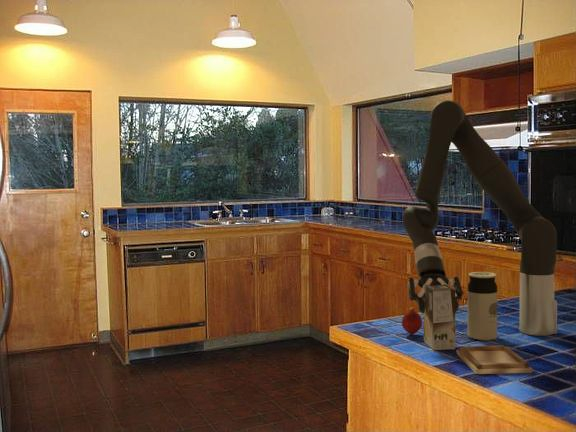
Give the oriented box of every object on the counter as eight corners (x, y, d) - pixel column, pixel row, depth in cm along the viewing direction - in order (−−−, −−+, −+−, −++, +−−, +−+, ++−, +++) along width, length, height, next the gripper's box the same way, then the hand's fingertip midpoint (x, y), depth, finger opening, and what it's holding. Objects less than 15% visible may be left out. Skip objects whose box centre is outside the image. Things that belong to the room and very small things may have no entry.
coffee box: (456, 349, 161) (456, 289, 160) (432, 350, 161) (432, 290, 160) (444, 340, 171) (444, 283, 169) (422, 341, 170) (421, 284, 169)
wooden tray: (506, 352, 158) (506, 344, 158) (532, 372, 142) (532, 364, 142) (456, 353, 158) (456, 346, 158) (476, 374, 142) (476, 365, 142)
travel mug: (461, 335, 175) (461, 273, 174) (483, 332, 178) (483, 270, 177) (480, 342, 168) (480, 277, 166) (503, 338, 171) (503, 274, 169)
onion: (422, 337, 173) (422, 310, 173) (401, 337, 174) (401, 309, 174) (422, 332, 179) (421, 305, 178) (402, 332, 180) (401, 305, 179)
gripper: (406, 255, 172) (415, 304, 161) (456, 254, 172) (469, 303, 161) (402, 271, 178) (410, 319, 167) (451, 270, 178) (463, 318, 167)
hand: (439, 311), depth 164 cm, fingers open, 8 cm apart
